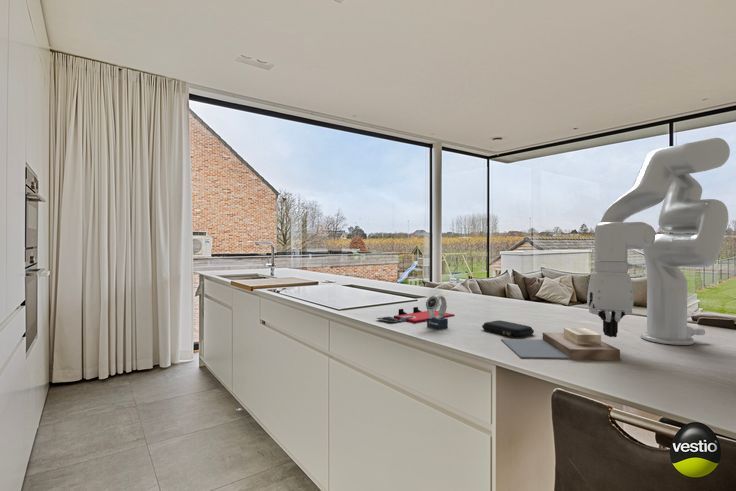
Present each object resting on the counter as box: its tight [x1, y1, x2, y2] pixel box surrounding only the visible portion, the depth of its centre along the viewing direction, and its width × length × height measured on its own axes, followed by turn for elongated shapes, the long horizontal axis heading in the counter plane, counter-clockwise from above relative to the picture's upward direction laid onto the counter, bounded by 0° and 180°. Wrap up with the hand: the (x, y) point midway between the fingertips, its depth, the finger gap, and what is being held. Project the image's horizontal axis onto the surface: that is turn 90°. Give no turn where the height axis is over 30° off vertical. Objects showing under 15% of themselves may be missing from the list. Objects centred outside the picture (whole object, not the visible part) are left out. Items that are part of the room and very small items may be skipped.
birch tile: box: [563, 327, 602, 345], centre depth 106 cm, size 6×8×2 cm
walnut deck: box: [542, 332, 621, 361], centre depth 106 cm, size 12×18×2 cm, turn 176°
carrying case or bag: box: [481, 320, 535, 339], centre depth 126 cm, size 11×3×15 cm
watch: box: [425, 294, 449, 330], centre depth 134 cm, size 6×8×11 cm
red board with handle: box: [375, 306, 455, 324], centre depth 151 cm, size 30×3×15 cm
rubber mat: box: [500, 338, 571, 360], centre depth 107 cm, size 12×18×1 cm, turn 176°
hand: (610, 335), depth 105 cm, fingers closed
